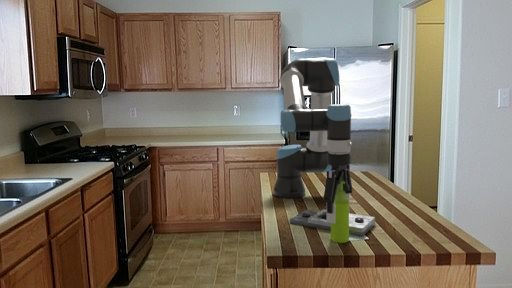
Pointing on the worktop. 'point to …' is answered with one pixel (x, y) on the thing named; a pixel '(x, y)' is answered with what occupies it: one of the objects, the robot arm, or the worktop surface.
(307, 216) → the lower link
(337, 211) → the soap dispenser
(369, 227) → the upper link
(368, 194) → the worktop surface
